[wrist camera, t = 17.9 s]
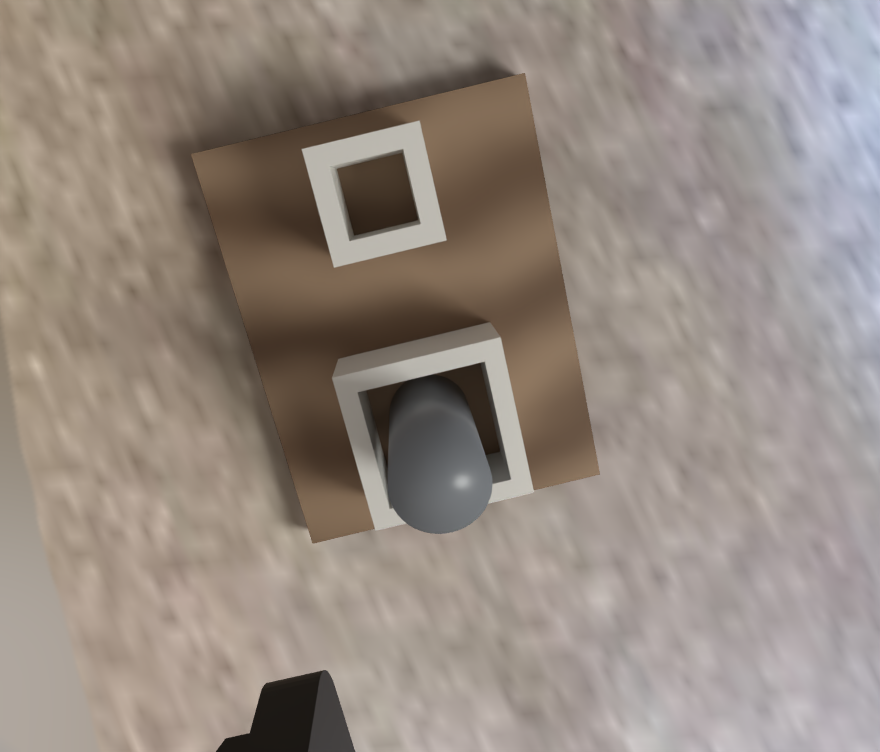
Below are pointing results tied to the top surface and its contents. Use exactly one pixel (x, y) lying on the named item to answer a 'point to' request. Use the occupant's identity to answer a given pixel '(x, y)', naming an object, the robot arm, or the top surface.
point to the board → (401, 284)
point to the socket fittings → (415, 355)
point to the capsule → (435, 457)
